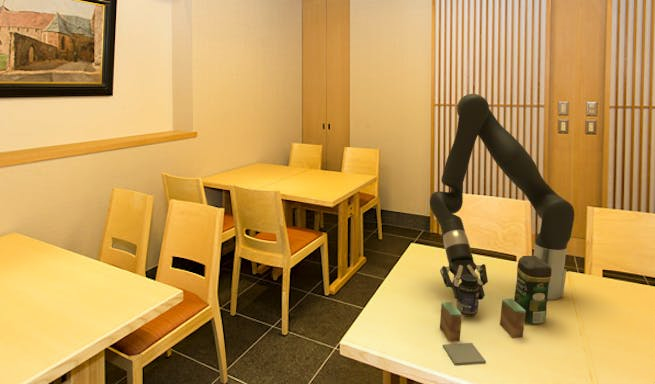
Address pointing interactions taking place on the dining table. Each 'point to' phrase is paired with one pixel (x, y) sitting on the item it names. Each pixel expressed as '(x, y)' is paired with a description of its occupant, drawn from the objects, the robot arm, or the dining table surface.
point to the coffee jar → (532, 288)
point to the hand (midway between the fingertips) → (470, 299)
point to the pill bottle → (468, 295)
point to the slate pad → (463, 354)
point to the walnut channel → (509, 319)
